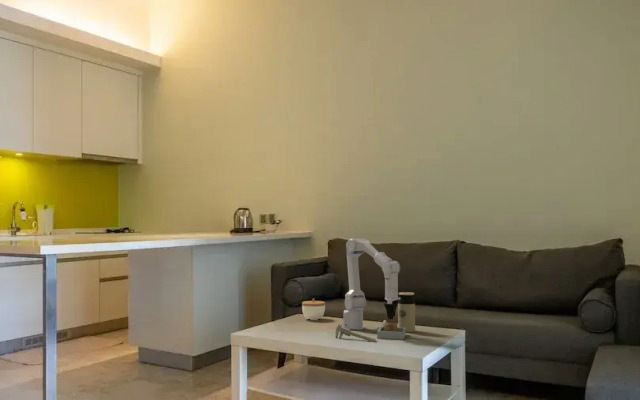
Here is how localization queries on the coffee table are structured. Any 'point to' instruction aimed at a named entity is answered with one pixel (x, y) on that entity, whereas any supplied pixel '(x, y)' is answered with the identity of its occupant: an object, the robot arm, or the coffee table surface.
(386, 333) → the tray
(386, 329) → the block
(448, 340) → the coffee table surface
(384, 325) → the grey peg base
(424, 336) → the coffee table surface
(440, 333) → the coffee table surface
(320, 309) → the lidded bowl
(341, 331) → the caliper
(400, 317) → the travel mug
